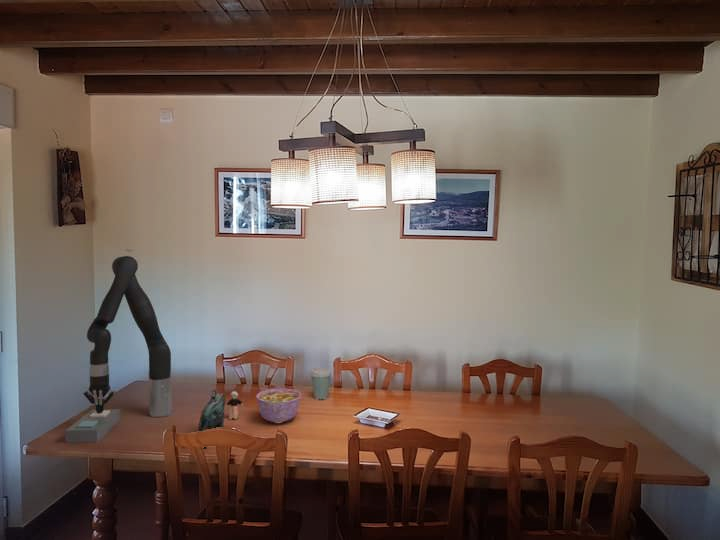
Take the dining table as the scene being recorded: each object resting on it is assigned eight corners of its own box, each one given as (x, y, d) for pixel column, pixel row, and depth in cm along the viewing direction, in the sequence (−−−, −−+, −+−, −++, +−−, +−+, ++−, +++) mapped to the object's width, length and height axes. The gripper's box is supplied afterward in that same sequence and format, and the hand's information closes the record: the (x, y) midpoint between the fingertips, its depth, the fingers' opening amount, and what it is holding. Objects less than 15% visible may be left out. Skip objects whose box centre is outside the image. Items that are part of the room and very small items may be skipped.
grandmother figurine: (227, 421, 233) (227, 393, 232) (225, 418, 236) (225, 391, 235) (244, 418, 236) (244, 391, 235) (241, 416, 240) (241, 389, 239)
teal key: (98, 427, 216) (98, 420, 216) (92, 433, 210) (92, 426, 210) (83, 427, 216) (83, 420, 215) (77, 433, 210) (76, 426, 209)
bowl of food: (299, 411, 247) (299, 387, 246) (302, 427, 228) (302, 401, 227) (256, 413, 244) (256, 389, 243) (255, 429, 224) (255, 403, 223)
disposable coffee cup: (335, 397, 269) (335, 369, 268) (322, 403, 260) (323, 373, 259) (318, 394, 274) (318, 366, 273) (305, 399, 265) (306, 370, 264)
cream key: (110, 417, 228) (110, 410, 228) (104, 422, 222) (104, 415, 222) (96, 417, 227) (95, 410, 227) (90, 422, 221) (89, 415, 221)
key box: (120, 420, 231) (119, 409, 231) (97, 442, 207) (96, 430, 207) (92, 420, 230) (91, 409, 230) (65, 442, 207) (65, 430, 206)
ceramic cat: (214, 429, 223) (214, 384, 222) (229, 430, 223) (229, 384, 221) (195, 448, 203) (195, 398, 202) (211, 449, 203) (211, 399, 201)
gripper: (118, 371, 227) (119, 409, 229) (87, 370, 226) (87, 409, 228) (111, 375, 220) (112, 415, 221) (79, 375, 219) (80, 415, 220)
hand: (99, 412), depth 225 cm, fingers closed
